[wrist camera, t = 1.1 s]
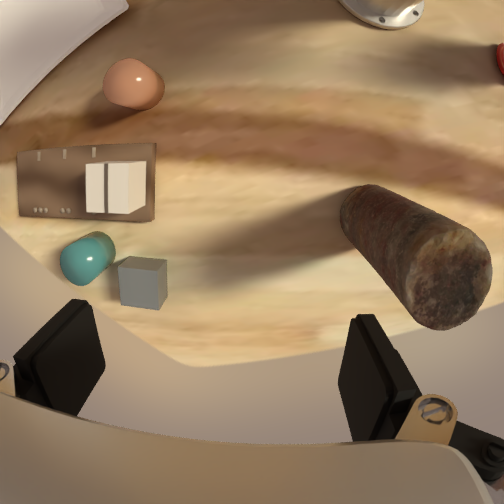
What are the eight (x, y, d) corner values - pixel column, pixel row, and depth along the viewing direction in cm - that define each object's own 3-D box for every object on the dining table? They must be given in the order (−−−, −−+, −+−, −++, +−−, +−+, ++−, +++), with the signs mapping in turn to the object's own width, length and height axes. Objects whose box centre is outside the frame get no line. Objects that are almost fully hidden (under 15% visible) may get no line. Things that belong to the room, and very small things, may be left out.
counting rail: (23, 151, 34) (16, 152, 32) (156, 143, 34) (151, 143, 32) (25, 213, 37) (18, 216, 35) (154, 219, 37) (149, 222, 35)
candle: (359, 257, 37) (435, 351, 18) (323, 212, 36) (387, 281, 17) (405, 217, 36) (510, 279, 17) (371, 170, 34) (476, 198, 15)
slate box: (130, 255, 38) (117, 266, 34) (166, 259, 38) (157, 271, 34) (132, 291, 40) (121, 305, 36) (167, 295, 40) (159, 310, 36)
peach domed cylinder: (127, 72, 31) (105, 61, 25) (166, 69, 31) (149, 56, 25) (123, 111, 33) (100, 106, 27) (162, 109, 33) (144, 102, 27)
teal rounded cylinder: (82, 230, 37) (57, 243, 32) (114, 232, 37) (92, 246, 32) (85, 266, 39) (62, 283, 33) (116, 269, 39) (96, 288, 33)
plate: (135, 12, 29) (129, 6, 27) (2, 132, 33) (-7, 132, 31) (81, -71, 22) (76, -76, 20) (-28, 31, 26) (-35, 29, 24)
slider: (107, 161, 33) (85, 164, 28) (146, 161, 33) (128, 163, 28) (107, 203, 34) (86, 212, 29) (145, 205, 34) (128, 214, 29)
